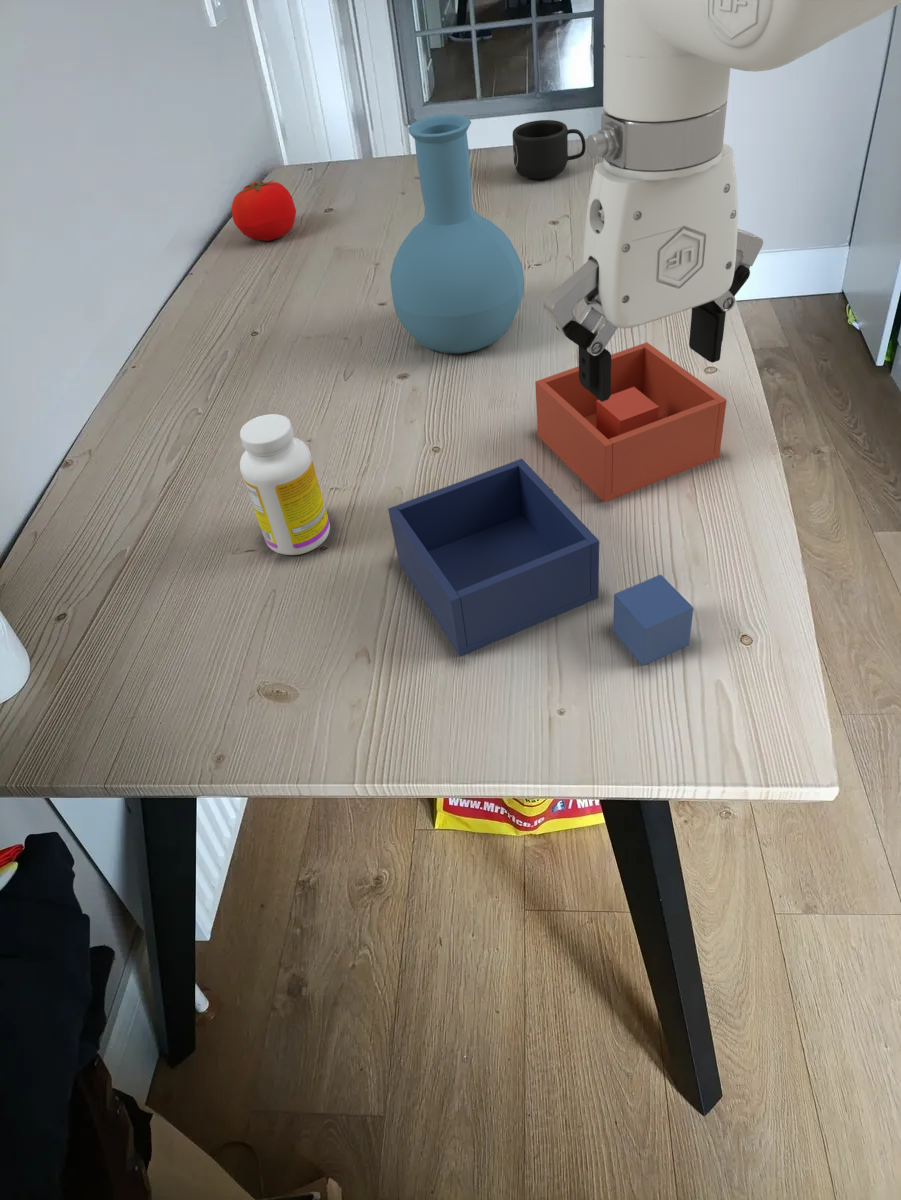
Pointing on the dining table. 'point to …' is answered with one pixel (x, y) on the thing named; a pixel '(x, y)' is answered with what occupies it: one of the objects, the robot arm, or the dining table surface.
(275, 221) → the tomato
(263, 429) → the supplement bottle
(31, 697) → the dining table surface
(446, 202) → the vase
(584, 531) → the blue bin
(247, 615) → the dining table surface
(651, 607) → the blue block
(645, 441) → the red bin
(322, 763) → the dining table surface
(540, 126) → the mug
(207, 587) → the dining table surface
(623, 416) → the red block
